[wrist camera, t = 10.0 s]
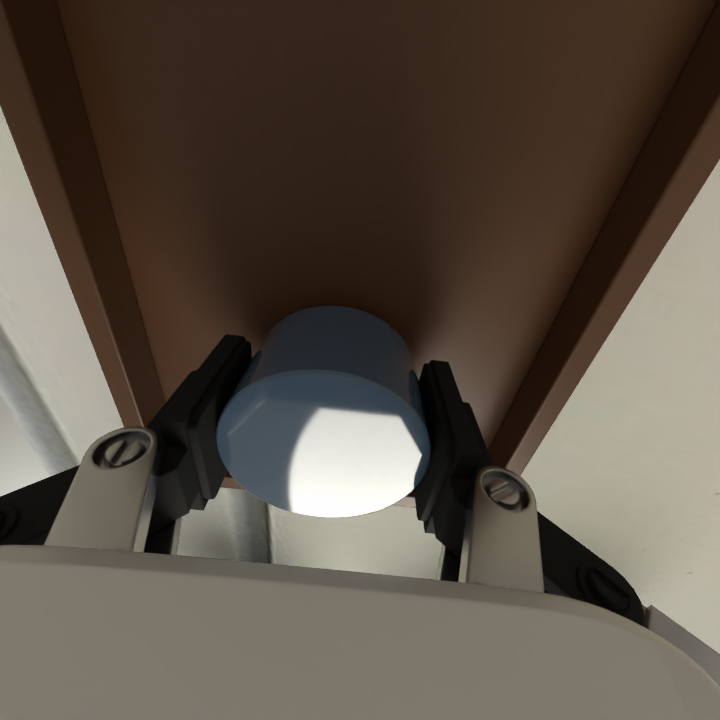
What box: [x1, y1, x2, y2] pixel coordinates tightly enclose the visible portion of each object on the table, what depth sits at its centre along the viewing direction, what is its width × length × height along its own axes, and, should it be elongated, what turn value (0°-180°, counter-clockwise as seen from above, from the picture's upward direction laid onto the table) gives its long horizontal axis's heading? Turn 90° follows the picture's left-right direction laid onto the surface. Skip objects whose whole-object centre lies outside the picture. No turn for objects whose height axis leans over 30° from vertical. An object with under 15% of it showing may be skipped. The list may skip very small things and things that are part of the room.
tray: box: [0, 0, 720, 508], centre depth 9 cm, size 22×16×2 cm
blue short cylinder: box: [216, 306, 431, 518], centre depth 10 cm, size 6×6×4 cm
